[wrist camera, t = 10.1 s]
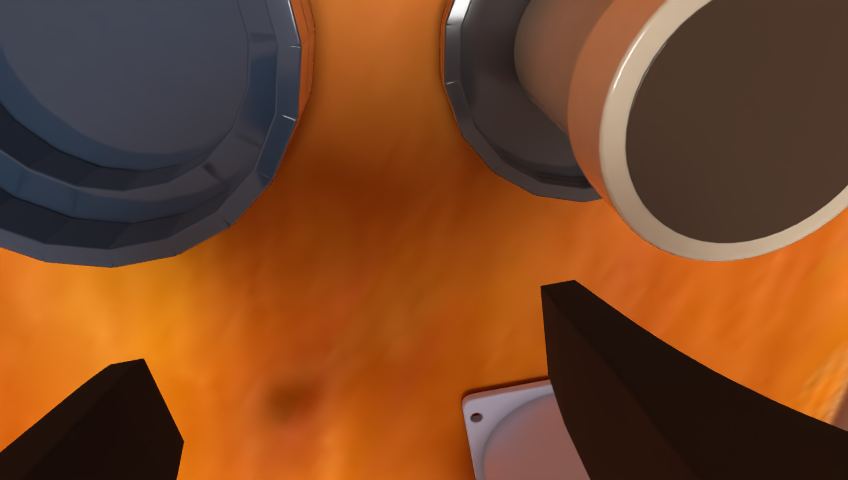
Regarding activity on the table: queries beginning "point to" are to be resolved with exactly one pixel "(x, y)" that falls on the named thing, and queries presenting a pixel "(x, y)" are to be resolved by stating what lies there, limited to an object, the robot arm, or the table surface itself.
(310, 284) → the table surface
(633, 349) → the robot arm
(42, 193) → the planter
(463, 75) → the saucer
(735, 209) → the clay pot
